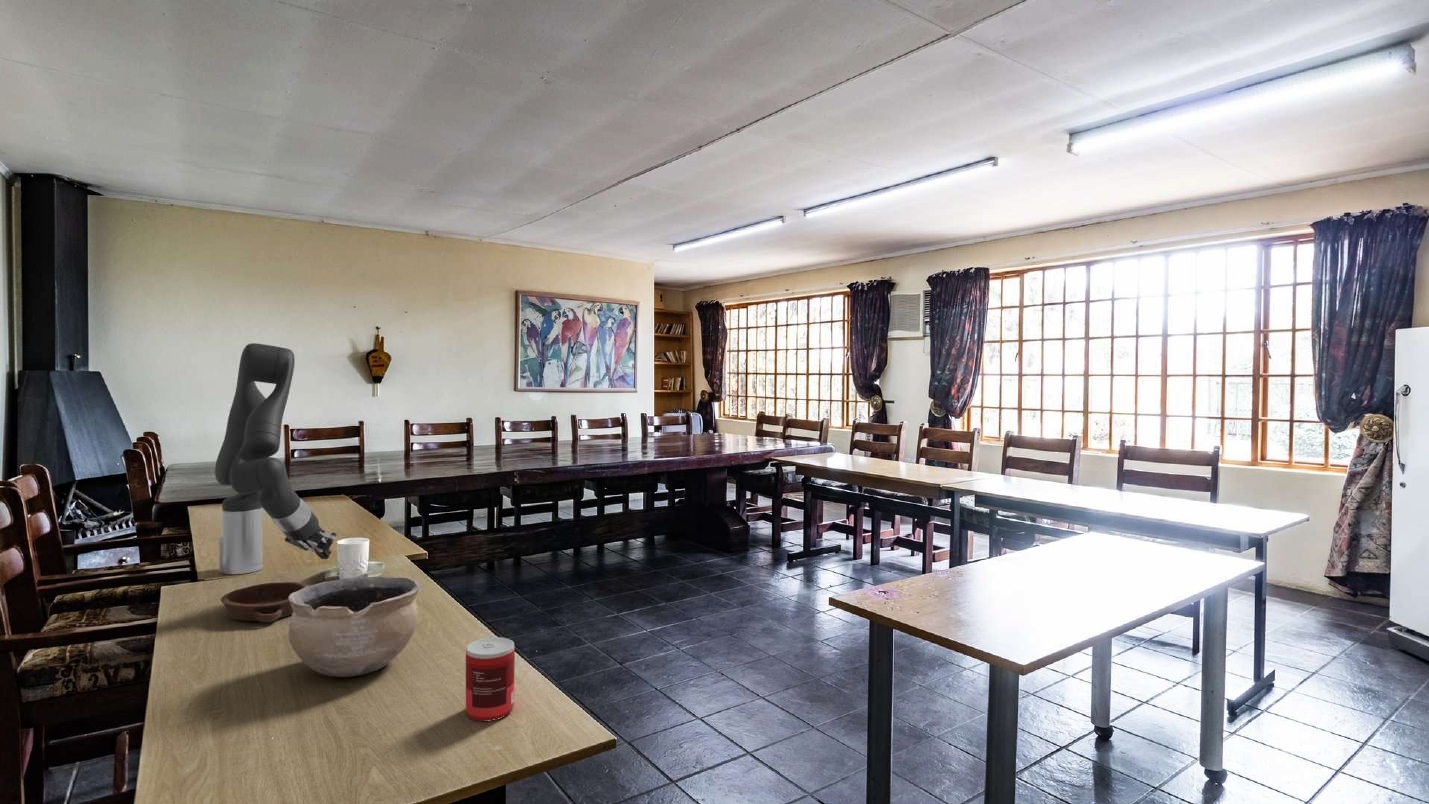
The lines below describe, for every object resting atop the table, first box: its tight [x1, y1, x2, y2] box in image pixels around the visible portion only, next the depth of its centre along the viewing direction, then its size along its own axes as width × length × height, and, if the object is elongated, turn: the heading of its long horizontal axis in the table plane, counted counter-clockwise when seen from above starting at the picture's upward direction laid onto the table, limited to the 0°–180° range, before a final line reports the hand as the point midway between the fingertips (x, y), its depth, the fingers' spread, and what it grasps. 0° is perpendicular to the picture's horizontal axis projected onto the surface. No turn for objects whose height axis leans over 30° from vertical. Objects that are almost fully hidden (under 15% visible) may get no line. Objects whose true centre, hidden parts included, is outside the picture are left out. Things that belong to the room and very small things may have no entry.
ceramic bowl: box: [287, 576, 420, 678], centre depth 133 cm, size 22×22×15 cm
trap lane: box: [295, 561, 385, 586], centre depth 186 cm, size 13×24×3 cm, turn 175°
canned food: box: [465, 636, 516, 722], centre depth 117 cm, size 8×8×11 cm
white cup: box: [336, 537, 370, 580], centre depth 192 cm, size 8×8×10 cm
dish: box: [220, 581, 308, 623], centre depth 163 cm, size 18×22×5 cm
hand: (326, 556), depth 181 cm, fingers closed
